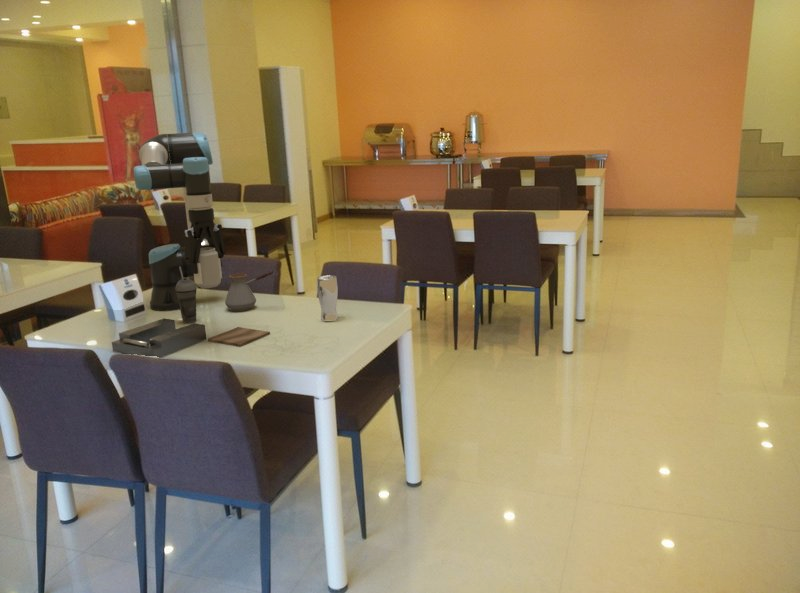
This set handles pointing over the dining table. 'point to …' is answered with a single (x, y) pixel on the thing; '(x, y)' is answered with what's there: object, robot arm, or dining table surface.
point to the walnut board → (238, 336)
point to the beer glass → (328, 297)
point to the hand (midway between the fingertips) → (208, 280)
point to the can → (209, 267)
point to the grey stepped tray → (159, 338)
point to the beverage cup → (186, 299)
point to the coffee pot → (241, 292)
